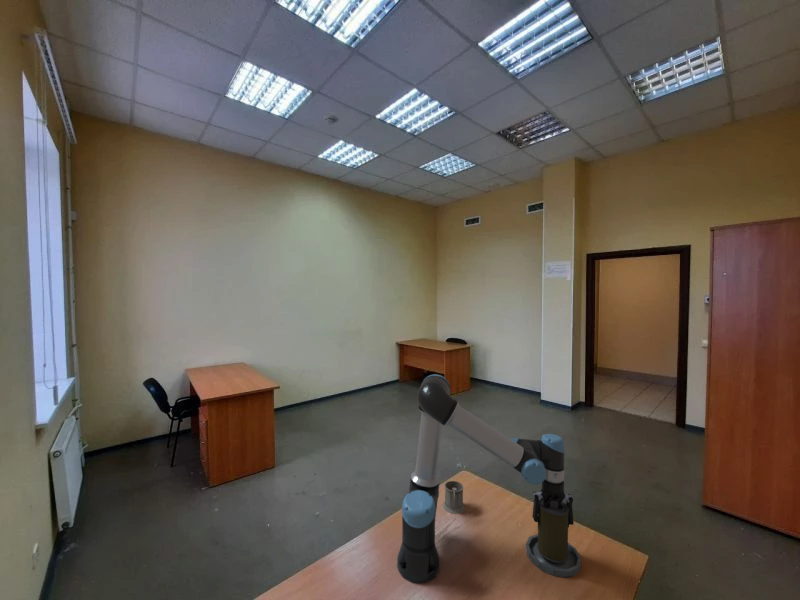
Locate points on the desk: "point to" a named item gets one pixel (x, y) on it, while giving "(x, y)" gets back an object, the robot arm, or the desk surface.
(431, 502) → the robot arm
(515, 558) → the desk surface
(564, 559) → the canister
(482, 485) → the desk surface
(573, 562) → the round tray
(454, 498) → the mug
